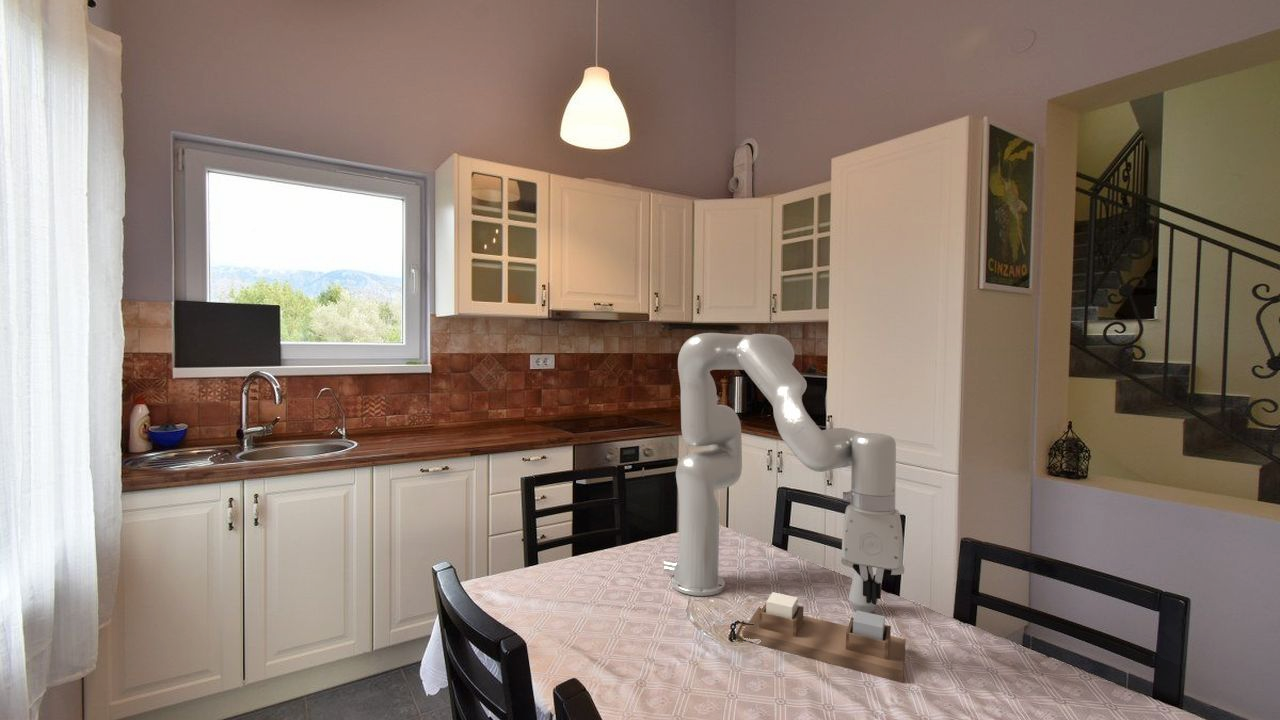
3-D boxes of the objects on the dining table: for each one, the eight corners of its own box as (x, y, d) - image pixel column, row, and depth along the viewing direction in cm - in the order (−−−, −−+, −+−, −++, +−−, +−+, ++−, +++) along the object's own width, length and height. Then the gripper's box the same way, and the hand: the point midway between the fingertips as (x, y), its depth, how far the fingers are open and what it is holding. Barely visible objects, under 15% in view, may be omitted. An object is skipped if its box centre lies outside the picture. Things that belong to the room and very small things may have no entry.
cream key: (765, 613, 111) (766, 601, 111) (772, 603, 115) (772, 592, 115) (791, 619, 108) (792, 607, 108) (797, 609, 113) (797, 597, 113)
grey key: (852, 634, 103) (852, 621, 103) (856, 622, 108) (856, 610, 108) (882, 641, 101) (882, 627, 101) (884, 629, 105) (884, 616, 105)
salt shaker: (879, 618, 120) (881, 557, 119) (850, 615, 121) (852, 554, 121) (873, 605, 125) (875, 547, 125) (846, 603, 127) (848, 545, 126)
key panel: (742, 640, 109) (743, 614, 109) (759, 615, 120) (760, 591, 120) (902, 682, 96) (902, 653, 96) (905, 649, 107) (906, 623, 107)
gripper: (827, 500, 104) (826, 600, 104) (917, 511, 97) (916, 618, 97) (833, 492, 111) (832, 585, 111) (918, 502, 104) (917, 601, 104)
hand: (871, 600), depth 104 cm, fingers closed
